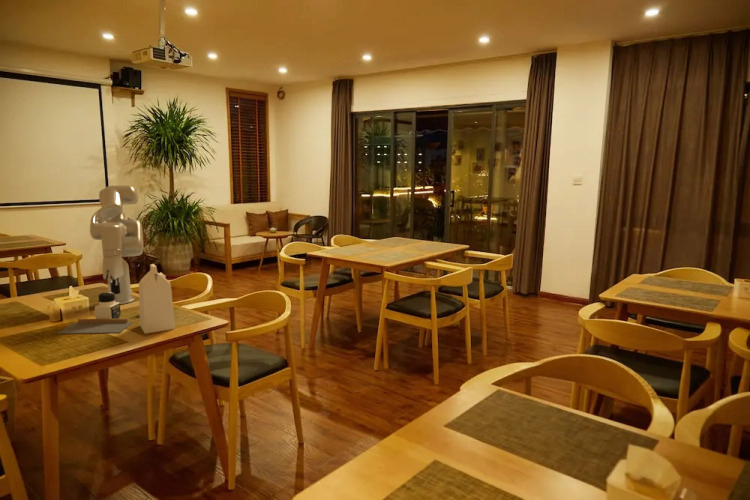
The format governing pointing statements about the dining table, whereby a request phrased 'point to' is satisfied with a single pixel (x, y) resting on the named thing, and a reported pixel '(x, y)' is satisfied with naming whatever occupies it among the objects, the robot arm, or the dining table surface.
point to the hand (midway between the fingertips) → (115, 293)
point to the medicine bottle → (107, 307)
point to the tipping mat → (96, 326)
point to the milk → (155, 302)
